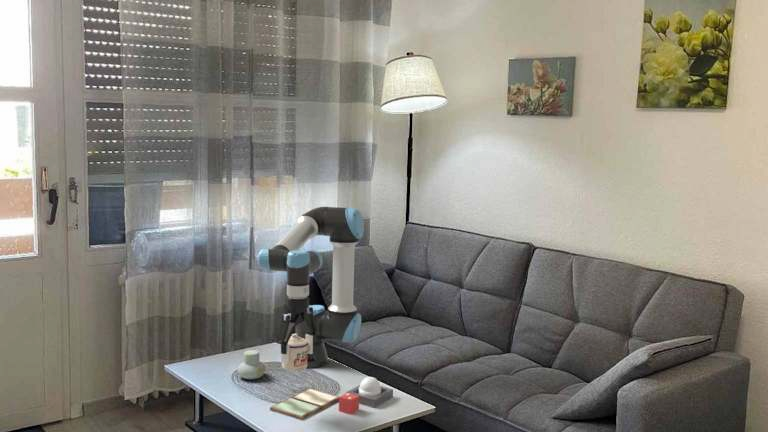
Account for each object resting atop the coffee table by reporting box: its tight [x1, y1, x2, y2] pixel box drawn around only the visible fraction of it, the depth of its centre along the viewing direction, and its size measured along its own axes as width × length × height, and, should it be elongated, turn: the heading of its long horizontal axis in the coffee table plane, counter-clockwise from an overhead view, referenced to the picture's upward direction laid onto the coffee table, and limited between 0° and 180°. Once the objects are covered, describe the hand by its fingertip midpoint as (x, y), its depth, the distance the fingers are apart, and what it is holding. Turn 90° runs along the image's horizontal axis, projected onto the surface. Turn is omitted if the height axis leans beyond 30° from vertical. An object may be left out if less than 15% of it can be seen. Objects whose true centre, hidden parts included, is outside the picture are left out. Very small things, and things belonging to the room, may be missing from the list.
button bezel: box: [345, 384, 394, 409], centre depth 267 cm, size 12×12×3 cm
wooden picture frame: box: [269, 388, 340, 421], centre depth 261 cm, size 22×14×1 cm, turn 147°
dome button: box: [359, 376, 381, 398], centre depth 267 cm, size 8×8×7 cm
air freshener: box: [236, 349, 267, 380], centre depth 286 cm, size 11×8×10 cm
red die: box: [338, 393, 360, 415], centre depth 256 cm, size 5×5×5 cm
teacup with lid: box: [281, 333, 309, 372], centre depth 253 cm, size 12×9×12 cm
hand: (297, 357), depth 254 cm, fingers closed on teacup with lid, 12 cm apart
